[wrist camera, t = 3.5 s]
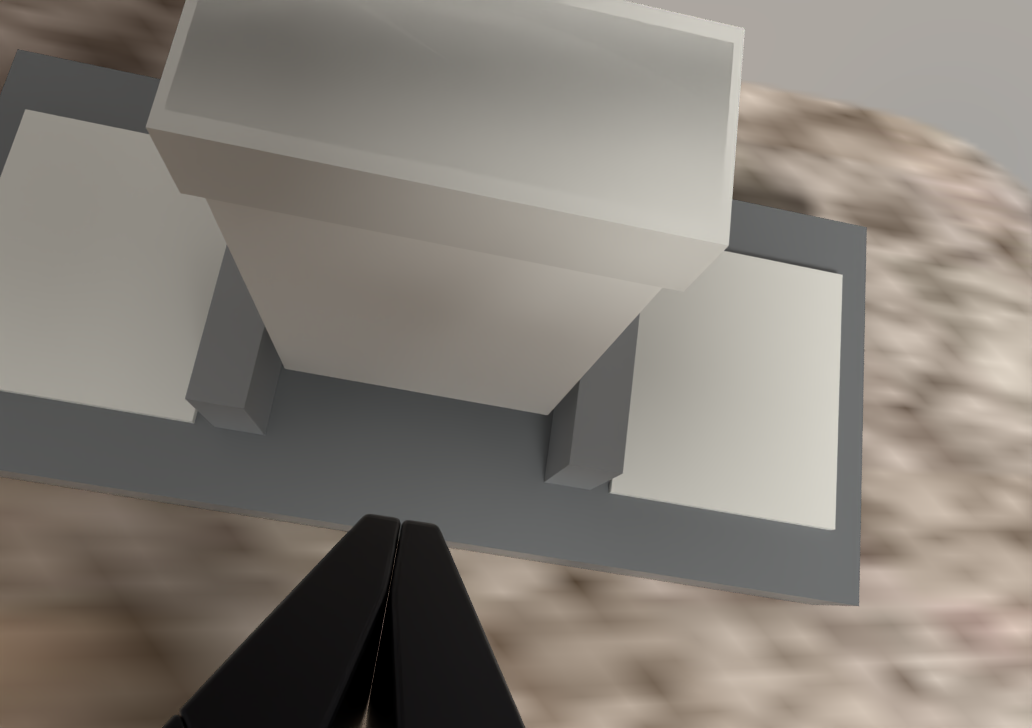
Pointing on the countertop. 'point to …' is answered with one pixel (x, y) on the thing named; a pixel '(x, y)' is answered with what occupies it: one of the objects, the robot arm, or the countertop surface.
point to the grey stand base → (412, 415)
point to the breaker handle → (454, 177)
